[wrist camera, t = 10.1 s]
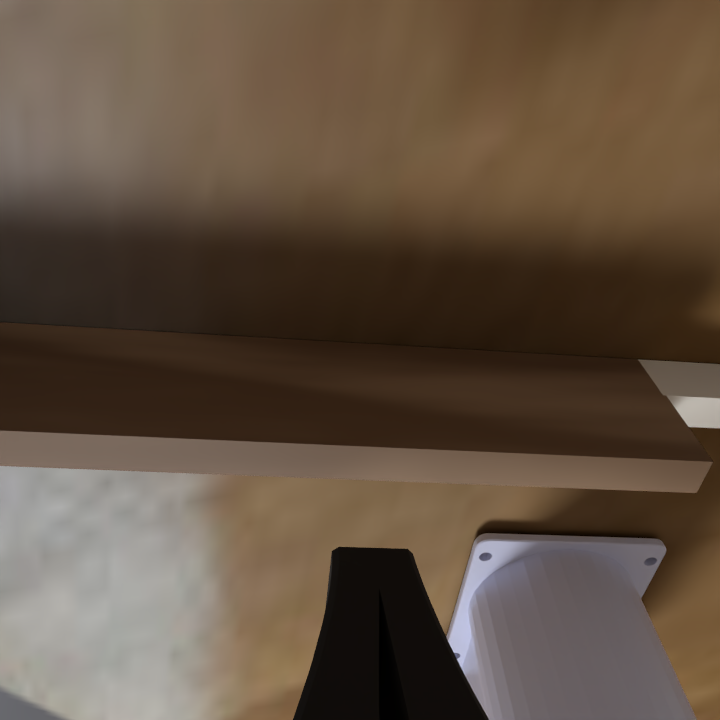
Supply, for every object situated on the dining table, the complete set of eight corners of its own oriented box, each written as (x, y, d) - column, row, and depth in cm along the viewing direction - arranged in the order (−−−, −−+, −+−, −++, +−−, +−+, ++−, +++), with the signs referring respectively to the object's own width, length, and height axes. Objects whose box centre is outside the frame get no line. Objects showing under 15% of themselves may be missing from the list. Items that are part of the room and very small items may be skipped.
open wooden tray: (629, 387, 23) (696, 493, 19) (-120, 347, 21) (-231, 456, 16) (911, -310, 13) (1180, -412, 9) (-444, -529, 11) (-911, -798, 7)
